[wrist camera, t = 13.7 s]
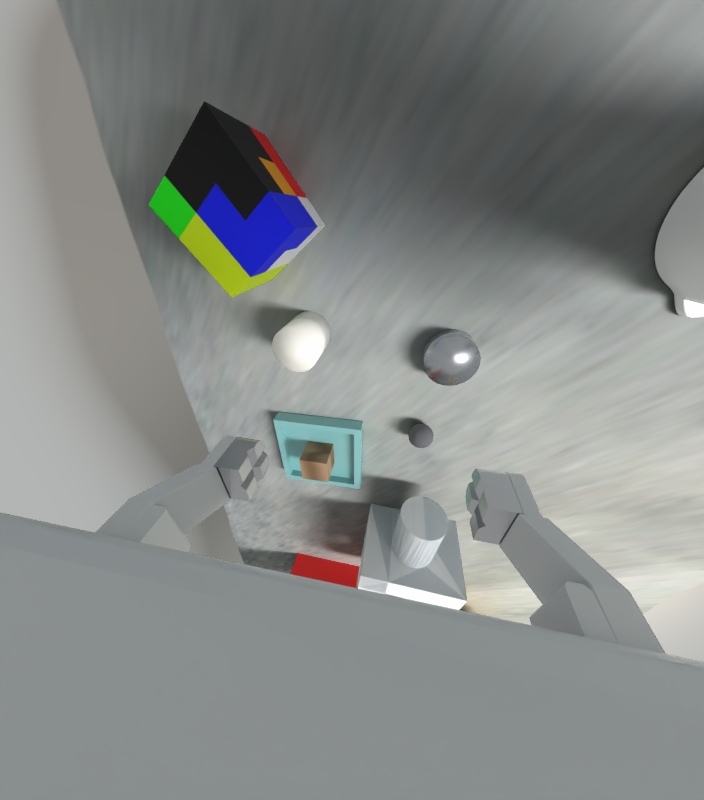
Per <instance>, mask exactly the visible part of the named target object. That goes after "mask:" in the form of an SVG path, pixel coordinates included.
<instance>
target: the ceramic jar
mask: <svg viewBox="0 0 704 800" xmlns="http://www.w3.org/2000/svg"><path fill="white" fill-rule="evenodd" d="M330 339H331V328H330V325H329V323H328V322H327V320H326V319H325V318H324V317H323V316H322V315H320V314H318V313H316V312H313V311H305V312H302V313H300V314H298V315H297V316H296V317H295V318H294V319H292V320H291V321H290V322H289V323H288V324H287V325H285V326H284V327H283V328H282V329H281V330H280V331H278V332H277V333H276V335H275V336H274V338H273V342H272V349H273V353H274V355H275V357H276V359H277V360H278V361H279V363H280V364H281V365H283V366H284V367H285V368H287V369H289V370H292V371H295V372H304V371H307V370H309V369H311V368H312V367H313V366H314V365H315V363H316V362H317V360H318V358H319V357H320V355H321V354H322V352H323V351H324V349H325V348H326V346H327V345H328V343H329V342H330Z"/></svg>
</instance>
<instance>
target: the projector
mask: <svg viewBox="0 0 704 800" xmlns="http://www.w3.org/2000/svg"><path fill="white" fill-rule="evenodd" d="M356 588H358V589H363V590H367V591H372V592H377V593H381V594H389V595H393V596H397V597H401V598H405V599H410V600H414V601H419V602H424V603H428V604H433V605H438V606H443V607H447V608H452V609H457V610H460V609H461V608H462V606H463V605H464V604H465V603H466V602H467V597H466V590H465V583H464V576H463V569H462V562H461V555H460V549H459V542H458V535H457V528H456V521H453V520H448V518H447V515H446V513H445V512H444V510H443V509H442V507H441V506H440V505H439V504H438V503H436V502H435V501H433V500H431V499H429V498H427V497H422V496H415V497H411V498H409V499H407V500H406V501H405V502H404V503H403V505H402V508H401V510H400V509H395V508H390V507H385V506H381V505H376V504H371V505H370V511H369V516H368V521H367V526H366V532H365V537H364V542H363V548H362V554H361V560H360V566H359V573H358V579H357V586H356Z"/></svg>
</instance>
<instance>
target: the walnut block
mask: <svg viewBox="0 0 704 800" xmlns="http://www.w3.org/2000/svg"><path fill="white" fill-rule="evenodd" d="M299 461H300V467H301V473H302V478H303V479H310V480H316V481H323V482H328V481H329V478H330V475H331V472H332V469H333V465H334V462H335V461H334V446H333V444H330V443H322V442H314V441H308V442H307V444H306V447H305V449H304V451H303V453H302V455H301V457H300V460H299Z"/></svg>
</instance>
